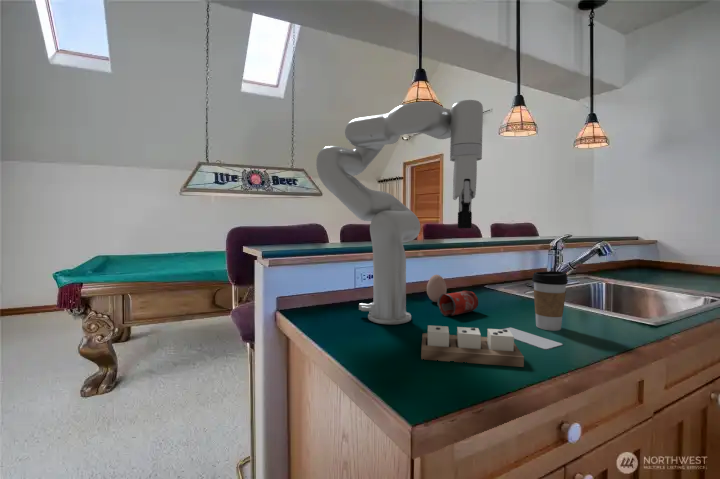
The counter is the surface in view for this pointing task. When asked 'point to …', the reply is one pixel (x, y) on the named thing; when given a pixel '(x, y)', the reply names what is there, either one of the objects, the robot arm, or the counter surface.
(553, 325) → the coffee cup
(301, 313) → the counter surface
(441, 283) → the egg
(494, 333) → the white die
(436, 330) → the white die
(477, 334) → the white die
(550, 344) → the smartphone
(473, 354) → the board
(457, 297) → the beverage can
